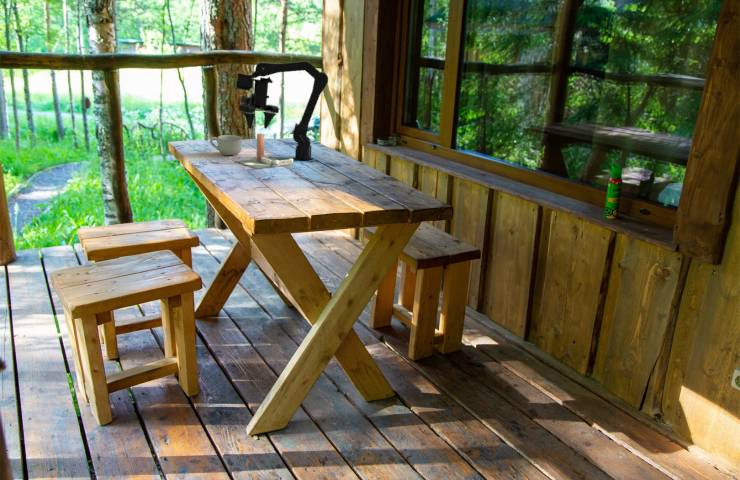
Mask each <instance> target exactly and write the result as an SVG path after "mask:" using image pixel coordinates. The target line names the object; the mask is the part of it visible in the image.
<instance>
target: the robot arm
mask: <svg viewBox="0 0 740 480" xmlns="http://www.w3.org/2000/svg"><path fill="white" fill-rule="evenodd" d="M300 71H305V72H306V73H307V74H308V75H309V76H311V77H312V78H313V85H312V91H311V93H310V96H309V98H308V101H307V104H306V107H305V109H304V112H303V114H302V117H301V119H300V120H299V123H297V122H295V124H294V129H293V130H292V132H291V133H292V138H293V140H294V142H295V143H297V145H296V146H295V149H294V150H295V153H294V154H295V156H294V157H293V160H297V161H302V162H303V161H313V160H314V158H313V157H312V145H311V139H310V138H309V137H308V131H309V130H308V129H309V128H308V127H309V124H310V121H311V120H312V119H311V118H312V117H313V114H314V111H315V109H316V106H317V103H318V101H319V98H320V96H321V94H322V92H323V91H324V89H325V87H327V85H328V83H329V76H328V75H327V74H326V72H324V71H320V70H318V69H317V68H316V67H315V65H314V66H313V64H311V62H310V61H308V60H304V61H303V60H302V61H294V62H293V61H292V62H283V63H282V62H281V63H279V62H278V63H275V62H266V61H262V62H261V61H260V62H259V63H257V64H256V66H255V70H254V71H253V72H252V73H251V74H246V73H242V72H239V73H238V74H237V80H236V85H235V86H236V90H241V91H247V92H250V91H251V89H252V90H253V93H251V95H250V97H248V96H247V95H241V97H240V102H241V104H239V105H238V111H239V112H241V114H243V115H244V116H245V120H246V123H247V128H248V129H250V130H251V129H252V128H253V127H252V126H253V123H254V119H255V115H256V113H254V112H260V111H261V112H262V113H263V115H264V121H263V129H267V128H268V127H269V125H270V123H271V122H272V120H273V119H274V117H275V116H277V114H279V113H280V112H279V110H280V108H279V106H277V105H272V104H267V101H268V99H270V95H268V92H269V91H268V89H269V84H272V83H274V82H273V80H272V79H271V75H274V74H278V73H287V72H300ZM267 76H268V77H267ZM258 77H260V79H257V78H258Z"/></svg>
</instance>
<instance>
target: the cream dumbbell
mask: <svg viewBox="0 0 740 480" xmlns="http://www.w3.org/2000/svg"><path fill="white" fill-rule="evenodd" d="M279 160H280V159H277V160H274V161H275V165H276V167H275V168H279V165H282V164H290V165H289V166H293V165H294V158H288V159H282V160H281V161H279ZM282 162H283V163H282Z"/></svg>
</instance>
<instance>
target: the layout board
mask: <svg viewBox="0 0 740 480" xmlns="http://www.w3.org/2000/svg"><path fill="white" fill-rule="evenodd" d="M266 158H267V159H270V160H272V161H274V160H279V161H282V160H281V159H276V158H272V157H266ZM237 162H238V163H237ZM234 163H237V164H240V165H244V166H247V167H249V166H250V168H253V169H255V168H256V170H261V169H270V168H271V169H272V168H277V167H276V165H271V164H268V163H265V162H262V161H257V158H250V159H241V160H240V159H239V160H234ZM282 163H283V162H282ZM286 166H287V167H288V166H291V165H290V164H282V165H279V167H286ZM279 167H278V168H279Z"/></svg>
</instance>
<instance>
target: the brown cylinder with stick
mask: <svg viewBox="0 0 740 480" xmlns="http://www.w3.org/2000/svg"><path fill="white" fill-rule="evenodd" d="M267 158H268V157H265V134H264V133H256V159H257V161H262V162H265V163H268V164H271V165H275V161H272V160H270V159H267Z"/></svg>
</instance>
